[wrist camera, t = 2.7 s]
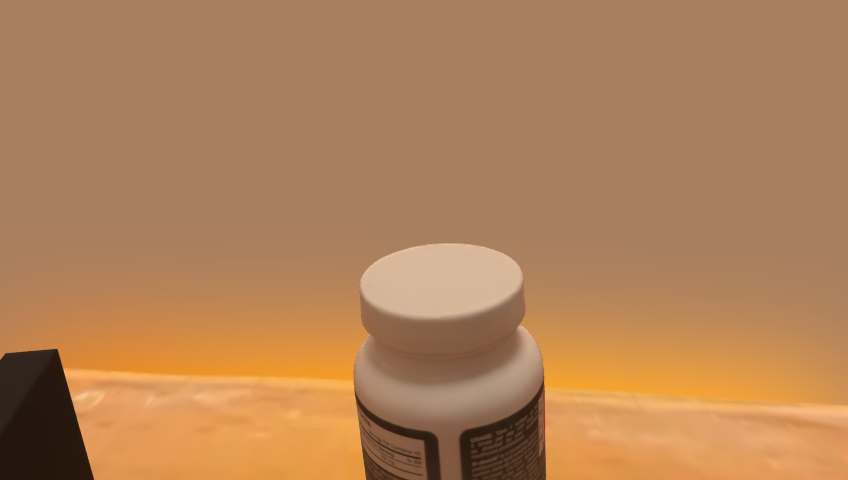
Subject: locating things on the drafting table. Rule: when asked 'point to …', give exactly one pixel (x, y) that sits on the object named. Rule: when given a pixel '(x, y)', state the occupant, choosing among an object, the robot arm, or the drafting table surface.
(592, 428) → the drafting table surface
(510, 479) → the pill bottle
